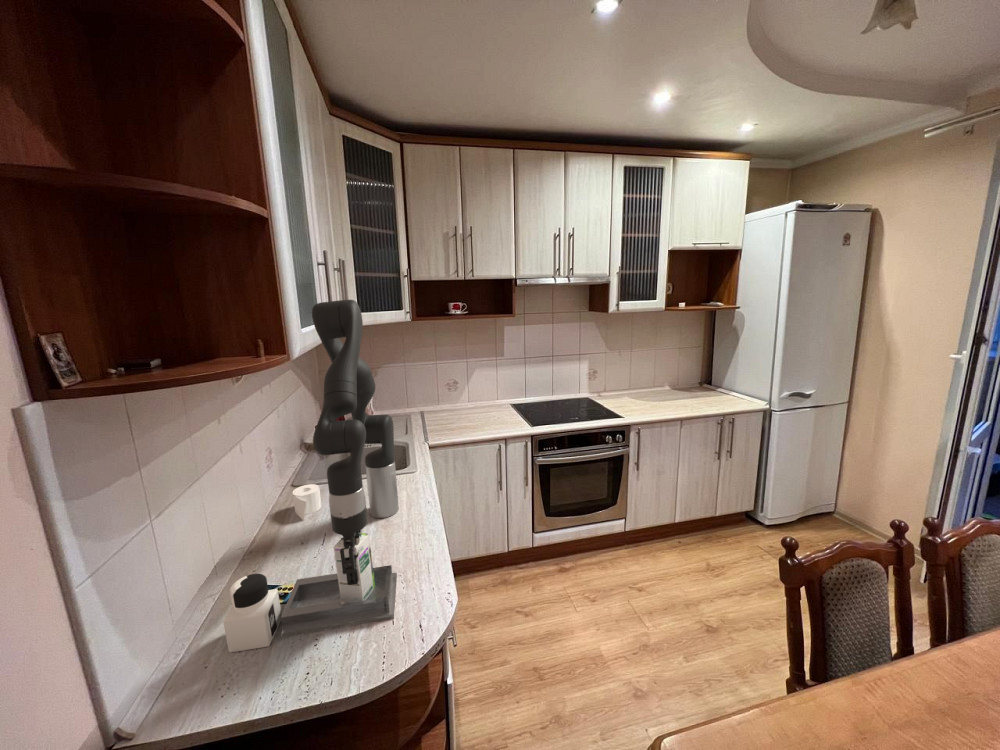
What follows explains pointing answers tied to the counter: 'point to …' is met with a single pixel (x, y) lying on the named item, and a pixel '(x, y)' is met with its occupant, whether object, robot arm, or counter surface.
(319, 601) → the low gray tray
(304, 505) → the toilet paper
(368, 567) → the syrup box
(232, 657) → the counter surface
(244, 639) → the container
